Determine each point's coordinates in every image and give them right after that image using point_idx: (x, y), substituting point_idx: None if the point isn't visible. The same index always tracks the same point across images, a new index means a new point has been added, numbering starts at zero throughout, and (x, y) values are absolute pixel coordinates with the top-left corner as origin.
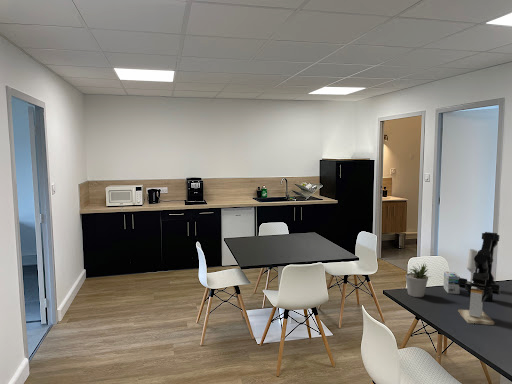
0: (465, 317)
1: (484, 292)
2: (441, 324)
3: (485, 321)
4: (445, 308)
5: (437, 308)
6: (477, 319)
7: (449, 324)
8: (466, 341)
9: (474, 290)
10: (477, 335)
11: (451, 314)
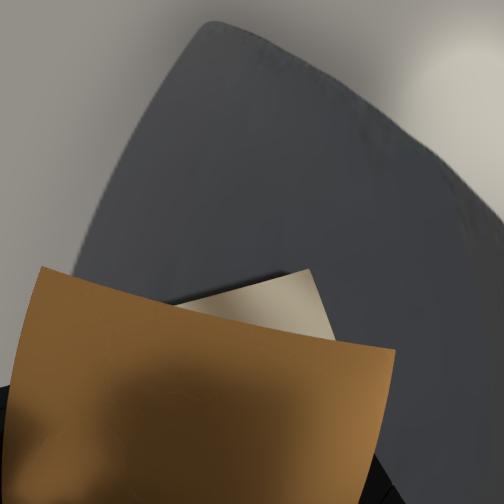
0: (330, 326)
1: (2, 418)
2: (438, 187)
3: (175, 305)
4: (456, 500)
5: (500, 458)
6: (234, 320)
7: (407, 203)
8: (303, 77)
9: (261, 349)
10: (257, 131)
11: (424, 402)
